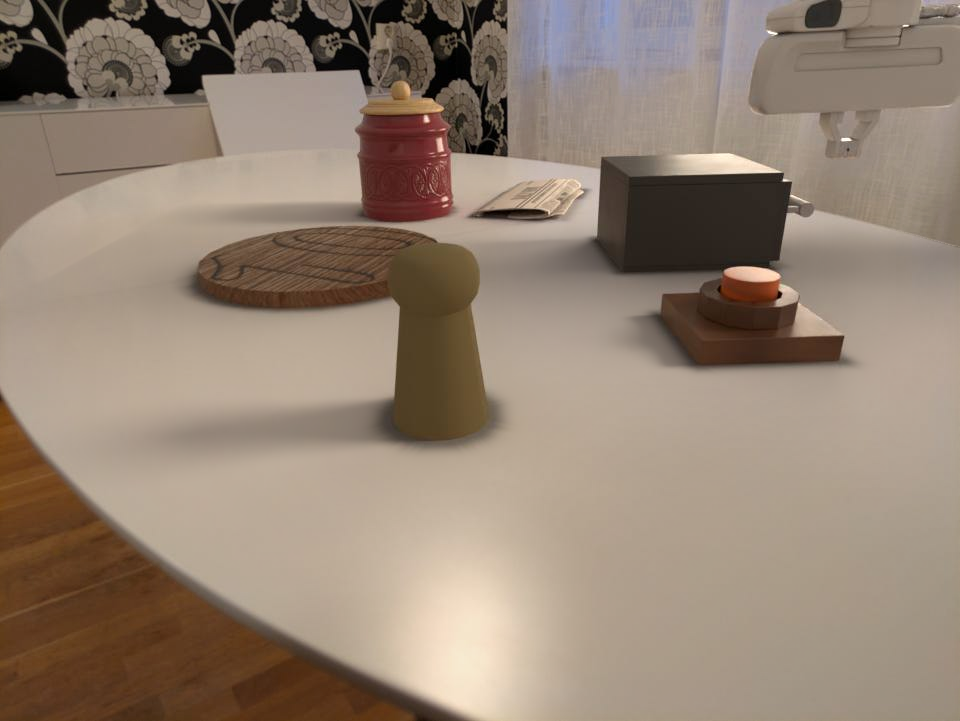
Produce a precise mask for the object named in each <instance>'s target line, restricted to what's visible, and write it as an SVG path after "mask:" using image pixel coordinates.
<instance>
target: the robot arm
mask: <svg viewBox="0 0 960 721" xmlns="http://www.w3.org/2000/svg"><path fill="white" fill-rule="evenodd" d="M923 2H924V0H795V1H792V2H789V3H786V4H784V5H781V6H778V7H776V8H774V9H771V10H770V11H769V12H768V13H767V15H766V17H765V30H766V32H767V33H768V34H771V35H769V36H768V37H766V38H764V40H763V41H762V42H761V43H760V46H759V47H758V48H757V51H756V54H755V57H754V61H753V66H752V69H751V70H752V71H751V75H750V80H749V86H748V94H747V104H748V106H749V108H750V110H751V112H753V113H754V114H756V115H759V116H781V115H782V116H784V115H801V114H802V115H803V114H819V119H818V124H819V127H820V129H821V131H822V133H823V135H824V137H825V140H826V144H825V150H824V156H825V158H826V159H827V158H828V159H832V160H833V159H848V158H849V159H850V158H852V159H853V158H860V157H861V155H862V151H863V146H864V142H865V140H866V139H867V138H868V137H869V135H870V134H871V133H872V132H873V130H874V129H875V128H876V126H877V125H878V124H879V122H880V117H881V112H882V111H884V110H904V109H925V108H945V107H947V108H948V107H951V106H952V105H953V104H954V103H956V101H957V100H958V99H959V98H960V16H959V15H960V4H956V3H948V4H944V5H936V4H935V5H933V4H927V5H923ZM845 112H855V114H854V121H857V124H856V126H855V127H854V128H853V130H852V131H851V133H850V134H849V136H848V137H845V138H842V135H841V133H840V130H839V127H838V124H842V123H843V122H844V117H845Z"/></svg>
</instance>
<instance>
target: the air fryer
mask: <svg viewBox="0 0 960 721" xmlns="http://www.w3.org/2000/svg"><path fill="white" fill-rule="evenodd" d="M599 170H600V173H599V190H598V191H599V193H598V208H597V209H598V212H597V230H596V234H597V235H596V239H597V241H598V242H599V244H600V245H601V246H602V248H603V249H604V250H605V251H606V253H607V254H608V256H609V257H610V258H611V259H612V260H613V262H614V263H615V265H616V266H617V267H618V268H619V270H620V271H621V272H622V273H623V274H629V273H663V272H664V273H665V272H687V271H688V272H696V271H698V272H699V271H724V270H726V269H728V268H732V267H744V266H745V267H758V268H764V269H769V268H770V263H771V261H770V258H771V252H772V246H773V240H774V234H775V227H776V221H777V215H778V209H779V203H780V197H781V191H782V185H783V178H784V177H785V172H784V171H780V170H778V169H775V168H772V167H769V166H768V165H764V164H761V163H759V162H756V161H753V160H750V159H747V158H745V157H743V156H742V157H741V156H739V155H737V154H733V153H728V152H727V153H725V152H724V153H688V154H657V155H655V154H653V155H652V154H650V155H618V156H617V155H616V156H601V157H600V169H599Z"/></svg>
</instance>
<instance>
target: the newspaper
mask: <svg viewBox="0 0 960 721" xmlns="http://www.w3.org/2000/svg"><path fill="white" fill-rule="evenodd" d="M580 188H581V183H580V182H579V181H577V180H576V179H575V178H574V179H573V178H550V179H538V180H537V179H536V180H526V181H522V182H521V181H520V182H519V183H517V184H515V185H514V186H512V187H511V188H508V190H506V191H504V192H503V193H502V194H500V195H499V196H497V197H496V198H494V199H493V200H491V201H490V202H489V203H487V204H486V205H484V206H483V207H481V208H479V209H478V210H476V211H475V212H474V213H473V217H474V218H475V217H483V216H484V215H486V214H487V213H489V212H493V211H494V212H495V211H510V213H509V214H508V215H507V219H516V220H517V219H518V220H535V219H546V218H549V217H552V216H558V215H562V216H563V215H565V213H566V212H567V211H568V209H570V207H571V205H572V204H573V202H574V201H575V199H577V198H578V197H579V196H581V195H582V194H583V193H585V191H584V190H582V189H580Z"/></svg>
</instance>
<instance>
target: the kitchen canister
mask: <svg viewBox="0 0 960 721" xmlns="http://www.w3.org/2000/svg"><path fill="white" fill-rule="evenodd" d="M390 95H391V98H375V99H370V100H369V101H368V103H367V104H365V105H364V106H363V107H361V108H360V109H359V110H358V111H359V113H360V114H361V115H363V117H362V119H361V122H360V123H359V124H357V126H356V127H355V128H354V132H355V134H357V135H358V137H359V152H357V153H356V158H357V159H358V166H359V177H360V187H361V188H360V189H361V198H360V201H361V208H362V210H363V213H364V216H365V217H366V218H368V219H371V220H375V221H382V222H394V223H395V222H396V223H397V222H398V223H400V222H401V223H404V222H406V223H407V222H421V221H429V220H435V219H438V218H443V217H445V216H448V215H449V214H451V213H452V212H453V205H454V194H453V190H452V189H453V188H452V186H453V185H452V165H451V163H452V162H451V155H452V154H453V152H452V150H451V149H450V148H449V144H448V143H449V142H448V133H449V131H450V130H451V127H452V126H451V125H450V123H448V122H446V121H445V120H444V119H443V116H442V115H441V112H443V111H444V110H445V108H444V107H443V106H442V105H440V104H439V103H437V102H436V101H435V100H434V99H433V98H431V97H430V98H429V97H411V88H410V85H409V83H408V82H406V81H403V80H397V81H394V82H393V83H392V84H391V87H390Z"/></svg>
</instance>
